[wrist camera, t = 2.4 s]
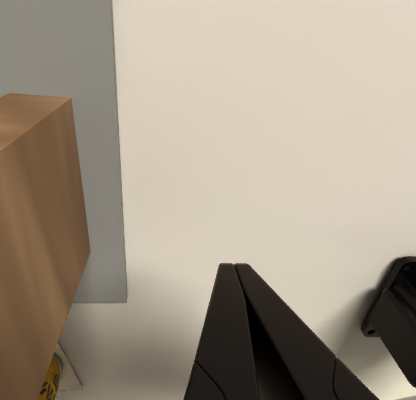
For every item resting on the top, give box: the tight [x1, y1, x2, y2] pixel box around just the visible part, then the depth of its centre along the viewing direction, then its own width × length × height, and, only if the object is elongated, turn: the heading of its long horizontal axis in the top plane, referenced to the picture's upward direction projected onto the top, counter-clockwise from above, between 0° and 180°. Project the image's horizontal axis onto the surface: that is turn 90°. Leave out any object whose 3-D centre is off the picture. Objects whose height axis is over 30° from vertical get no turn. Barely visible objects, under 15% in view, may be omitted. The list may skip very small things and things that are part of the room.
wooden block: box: [0, 93, 91, 400], centre depth 9 cm, size 2×7×8 cm, turn 175°
